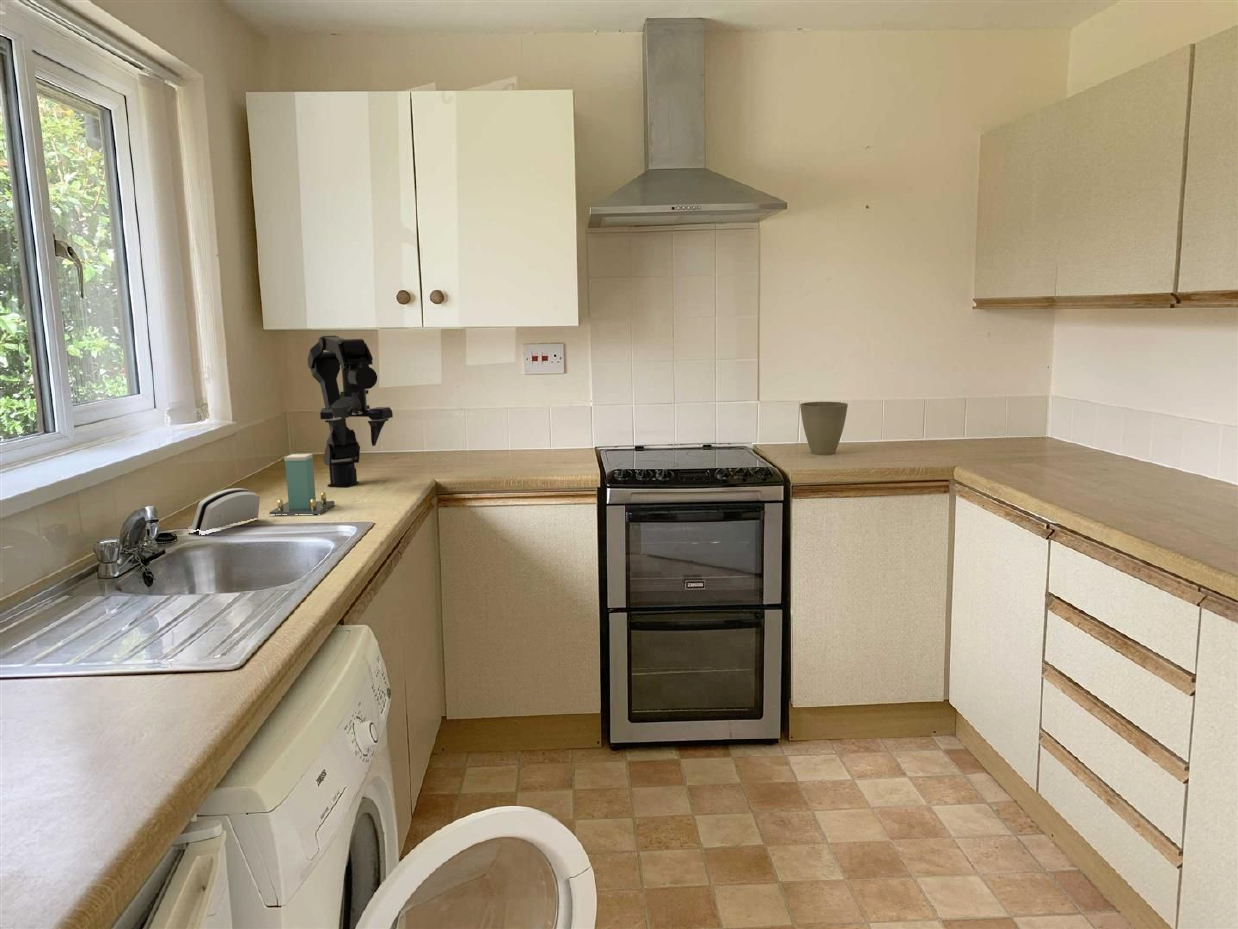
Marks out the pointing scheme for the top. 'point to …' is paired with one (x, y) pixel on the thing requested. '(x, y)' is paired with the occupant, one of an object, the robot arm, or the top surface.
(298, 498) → the tea tin
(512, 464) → the top surface
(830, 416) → the plant pot
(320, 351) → the robot arm
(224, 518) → the grey napkin holder
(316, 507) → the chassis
